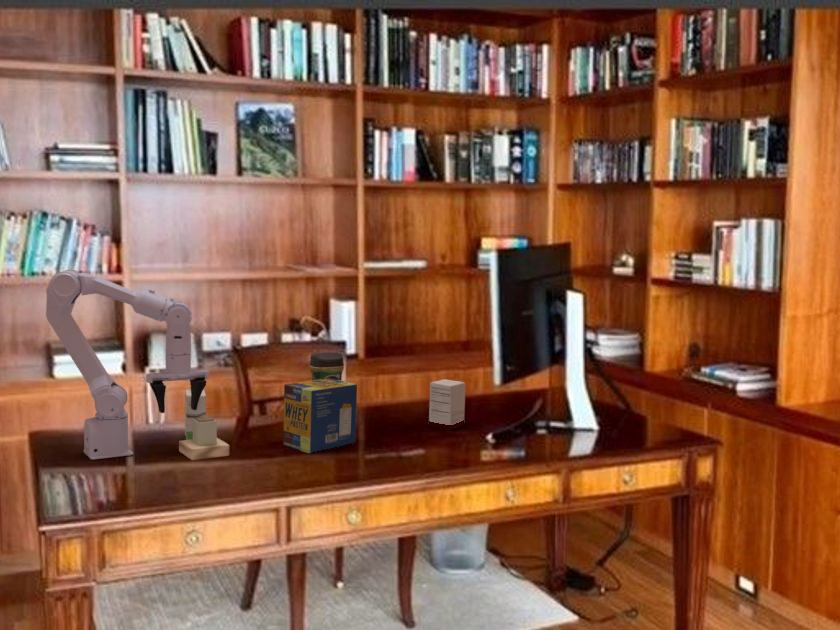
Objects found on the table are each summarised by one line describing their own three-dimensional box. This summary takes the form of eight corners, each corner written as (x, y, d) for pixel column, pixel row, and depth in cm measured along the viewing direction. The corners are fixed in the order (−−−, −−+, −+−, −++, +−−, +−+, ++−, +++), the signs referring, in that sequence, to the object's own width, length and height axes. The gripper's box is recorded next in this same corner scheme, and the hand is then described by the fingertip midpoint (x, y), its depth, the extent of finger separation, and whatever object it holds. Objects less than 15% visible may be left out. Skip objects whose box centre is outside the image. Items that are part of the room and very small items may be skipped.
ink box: (206, 441, 215) (206, 395, 214) (186, 442, 214) (186, 395, 212) (204, 433, 223) (204, 388, 222) (184, 434, 222) (184, 389, 221)
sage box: (198, 446, 201) (198, 421, 200) (192, 441, 205) (192, 417, 204) (216, 444, 203) (216, 419, 203) (211, 439, 207) (211, 415, 206)
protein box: (282, 445, 213) (283, 384, 212) (329, 436, 225) (330, 377, 223) (309, 454, 206) (310, 390, 205) (356, 443, 218) (358, 383, 216)
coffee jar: (336, 412, 253) (337, 350, 251) (346, 418, 246) (348, 353, 244) (305, 415, 249) (306, 351, 247) (314, 420, 242) (316, 355, 240)
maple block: (191, 462, 198) (191, 449, 198) (179, 453, 206) (179, 440, 205) (229, 457, 203) (229, 445, 203) (215, 448, 211) (215, 436, 210)
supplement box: (442, 422, 244) (444, 378, 243) (464, 426, 240) (466, 382, 239) (427, 427, 238) (429, 382, 237) (450, 431, 234) (451, 385, 233)
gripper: (152, 357, 195) (152, 416, 197) (214, 354, 203) (213, 411, 205) (143, 353, 201) (143, 410, 202) (203, 350, 209) (203, 405, 210)
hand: (178, 410), depth 204 cm, fingers open, 7 cm apart
